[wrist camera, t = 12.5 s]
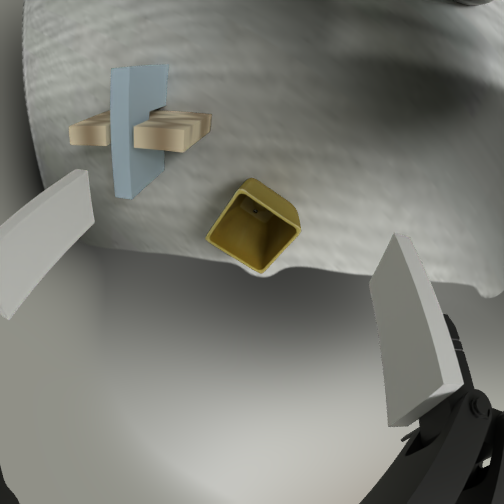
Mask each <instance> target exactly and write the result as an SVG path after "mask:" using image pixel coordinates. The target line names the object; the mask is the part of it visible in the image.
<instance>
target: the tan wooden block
mask: <svg viewBox="0 0 504 504" xmlns="http://www.w3.org/2000/svg"><path fill="white" fill-rule="evenodd" d="M211 117H212V114H204V113H193V112H180V111H162V110H152V111H150V112H149V120H147V121H145V122H143V123H140V124H138V125H136V126H134V148H143V149H154V150H165V151H174V152H183V153H184V152H185V151H186V150H187V149H188V148H190V147H191V146H192V145H194V144H195V143H196V142H197V141H199V140H200V139H201V138H202V137H204V136H205V135H206V134H208V133H209V132H210V127H211ZM69 136H70V145H93V146H107V145H109V144H111V124H110V110H109V111H107V112H104V113H101V114H98V115H96V116H93V117H91V118H88V119H85V120H83V121H81V122H78V123H76V124H73V125H71V126H69Z"/></svg>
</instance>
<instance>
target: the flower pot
mask: <svg viewBox="0 0 504 504" xmlns="http://www.w3.org/2000/svg"><path fill="white" fill-rule="evenodd" d="M255 209H256V210H257V212H256V213H255V212H254V210H255ZM300 232H301V226H300V221H299V216H298V212H297V210H296V208H295V207H294V206H293V205H292V204H291V203H290V202H289V201H287V200H286V199H284V198H283V197H281V196H280V195H279V194H277V193H276V192H274V191H273V190H271V189H270V188H268V187H267V186H265V185H264V184H262V183H261V182H259V181H258V180H256V179H254V178H249V179H247V180H246V181H245V182H244V183H243V184H242V185H241V186H240V188H239V189H238V190H237V191H236V193H235V194H234V196H233V197H232V199H231V200H230V202H229V203H228V204H227V206H226V207H225V209H224V210H223V212H222V213H221V215H220V216H219V218H218V219H217V221H216V222H215V223H214V225H213V226H212V228H211V229H210V231H209V232H208V234H207V235H206V237H205V239H206V240H207V241H208V242H209V243H211V244H212V245H214V246H215V247H217V248H218V249H220V250H222V251H223V252H225V253H227V254H228V255H230V256H231V257H233V258H235V259H236V260H238V261H240V262H241V263H243V264H245V265H246V266H248V267H249V268H251V269H252V270H254V271H256V272H258V273H261V274H262V273H263V272H265V271H266V270H267V269H268V267H269V266H270V265H271V264H272V263H273V262H274V261H275V260H276V259H277V258H278V256H279V255H280V254H281V253H282V252H283V251H284V250H285V249H286V248H287V247H288V246H289V245H290V244H291V243H292V242H293V241H294V240H295V239H296V237H297V236H298V235H299V234H300Z"/></svg>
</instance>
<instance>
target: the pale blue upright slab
mask: <svg viewBox="0 0 504 504" xmlns="http://www.w3.org/2000/svg"><path fill="white" fill-rule="evenodd" d="M168 68H169V64H160V65H141V66H130V67H120V68H112V69H111V88H110V124H111V150H112V166H113V178H114V189H115V197H118V198H125V199H131V200H132V199H133V198H134V197H135V196H136V195H137V194H138V193H139V192H141V191H142V190H143V189H144V188H145V187H146V186H147V185H148V184H149V183H150V182H151V181H153V180H154V179H155V178H156V177H157V176H158V175H159V174H160V173H162V172H163V171H164V150H154V149H143V148H134V126H136V125H138V124H140V123H143V122H145V121H147V120H149V112H150V111H152V110H155V109H158V108H160V107H163V106H166V95H167V80H168Z"/></svg>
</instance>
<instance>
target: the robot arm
mask: <svg viewBox="0 0 504 504" xmlns="http://www.w3.org/2000/svg"><path fill="white" fill-rule="evenodd" d="M453 1H456V2H458V3H461V4H465V5H471V6H475V5H481V4H486V3H489V2H491V1H493V0H453ZM94 223H95V221H94V215H93V208H92V201H91V194H90V186H89V177H88V170H80V169H75V170H73V171H72V172H70V173H69V174H67V175H66V176H64V177H63V178H62V179H60V180H59V181H57V182H56V183H54V184H53V185H51V186H50V187H49V188H47V189H46V190H45V191H43V192H42V193H41V194H39V195H38V196H36V197H35V198H34V199H33V200H31V201H30V202H29V203H27V204H26V205H25V206H24V207H22V208H21V209H20V210H18V211H17V212H16V213H15V214H14V215H12V216H11V217H10V218H9V219H8V220H6V221H5V222H4V223H3V224H2V225H1V226H0V315H2V316H3V317H5V318H6V319H8V320H10V318H11V317H12V316H13V314H14V313H15V312H16V310H17V309H18V308H19V306H20V305H21V304H22V303H23V301H24V300H25V299H26V298H27V296H28V295H29V294H30V293H31V291H32V290H33V289H34V288H35V286H36V285H37V284H38V283H39V282H40V281H41V279H42V278H43V277H44V276H45V275H46V273H47V272H48V271H49V270H50V269H51V267H53V266H54V264H55V263H56V262H57V261H58V260H59V259H60V258H61V257H62V256H63V254H64V253H65V252H66V251H67V250H68V249H69V248H70V247H71V246H72V245H73V244H74V243H75V242H76V241H77V240H78V239H79V238H80V237H81V236H82V235H83V234H84V233H85V232H86V231H87V230H88V229H89V228H90V227H91V226H92V225H93V224H94ZM369 287H370V291H371V297H372V302H373V307H374V313H375V319H376V324H377V330H378V337H379V343H380V350H381V358H382V364H383V374H384V383H385V393H386V403H387V417H388V427H398V426H399V427H401V426H409V425H410V424H412V423H413V422H415V421H416V420H418V419H419V424H420V427H419V428H417V429H416V430H414V431H412V432H411V433H409V434H407V435H406V436H405V437H403V438H402V439H401V441H402V442H403V441H405V440H407V439H409V438H410V439H409V440H408V442H407V443H406V445H405V446H404V448H403V449H402V451H401V452H400V453H399V455H398V456H397V458H396V459H395V460H394V462H393V463H392V464H391V466H390V467H389V468H388V470H387V471H386V472H385V474H384V475H383V476H382V477H381V479H380V480H379V481H378V482H377V484H376V485H375V486H374V487H373V489H372V490H371V491H370V492H369V493H368V494H367V496H366V497H365V498H364V499H363V500H362V501H361V502H360V503H359V504H504V411H503V412H502V411H499V410H496V409H494V408H492V407H491V403H490V401H489V399H488V397H487V396H486V395H485V394H484V393H483V392H482V391H480V390H477V389H474V386H473V382H472V378H471V374H470V371H469V367H468V364H467V361H466V357H465V354H464V352H463V351H462V350H463V348H462V344H461V342H460V341H459V336H458V333H457V330H456V327H455V325H454V324H453V322H452V321H451V319H450V318H449V317H448V315H446V314H442V311H441V308H440V305H439V303H438V300H437V298H436V295H435V293H434V290H433V288H432V285H431V283H430V280H429V278H428V276H427V273H426V271H425V269H424V266H423V264H422V262H421V260H420V257H419V255H418V253H417V251H416V249H415V247H414V245H413V243H412V241H411V238H410V237H408V236H404V235H401V234H397V233H394V234H393V236H392V238H391V240H390V242H389V245H388V247H387V249H386V251H385V253H384V255H383V257H382V259H381V261H380V263H379V265H378V267H377V269H376V271H375V273H374V275H373V277H372V278H371V280H370V282H369ZM490 457H491V461H490V465H489V466H486V467H484V468H483V467H482V464H483V461H484V460H486V459H488V458H490ZM0 504H19V501H18V499H17V498H16V497H15V495H14V493H12V491H11V490H10V489H9V488H8V487H7V485H6V484H5V481H4V478H3V475H2V471H1V467H0Z"/></svg>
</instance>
